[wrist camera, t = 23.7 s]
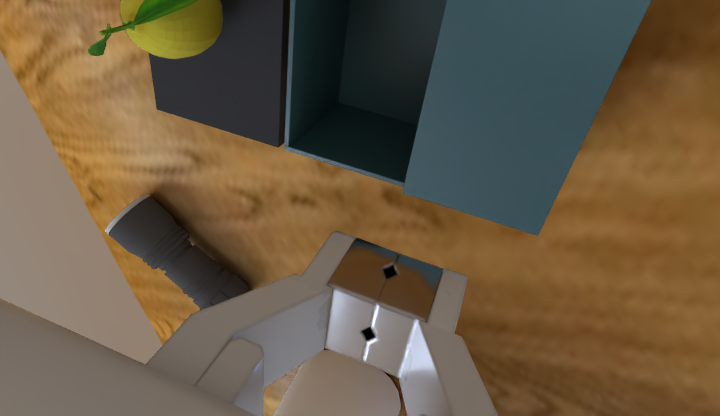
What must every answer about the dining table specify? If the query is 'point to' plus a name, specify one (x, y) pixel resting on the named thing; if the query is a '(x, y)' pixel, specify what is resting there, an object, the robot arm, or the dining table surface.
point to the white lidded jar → (339, 389)
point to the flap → (514, 102)
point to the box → (359, 81)
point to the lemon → (168, 26)
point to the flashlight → (173, 252)
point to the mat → (233, 74)
